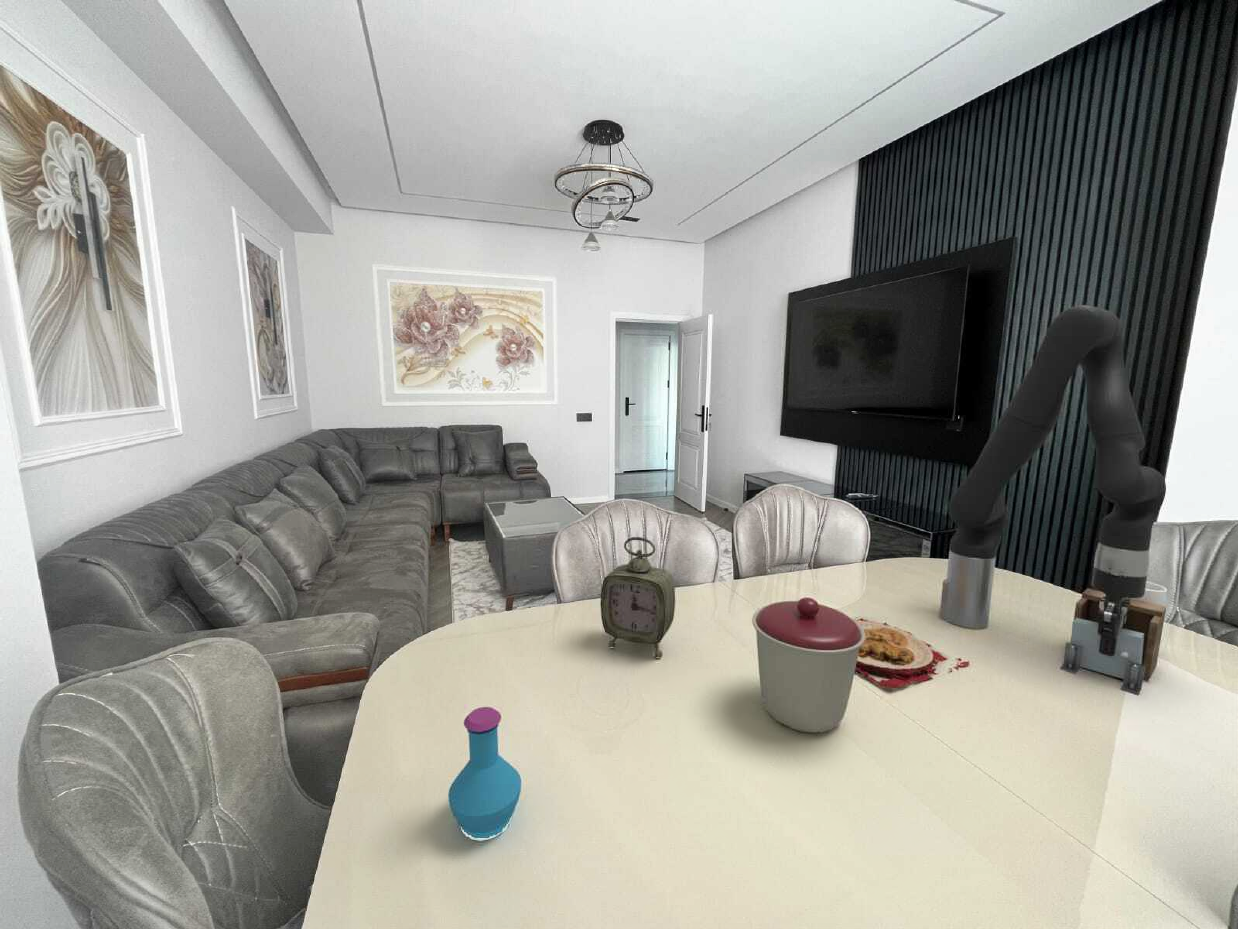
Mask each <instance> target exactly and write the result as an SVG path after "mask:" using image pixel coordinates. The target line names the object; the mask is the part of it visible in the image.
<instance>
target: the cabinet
mask: <svg viewBox="0 0 1238 929" xmlns="http://www.w3.org/2000/svg"><path fill="white" fill-rule="evenodd" d="M1103 596H1106V594H1104V593H1103V592H1101V591H1098V590H1096V589H1094V588H1086V589H1085V590H1084V591H1083V592H1082V593H1081V597H1080V599H1078V601H1076V603H1075V610H1074V616H1073V621H1074V620H1075V619H1076V618H1080V619H1084V620H1088V621H1092V622H1097V623H1098V620H1099V614H1098V612H1099V611H1100V608H1099V604H1100V600H1101V599H1102V600H1103ZM1130 602H1131V607H1130V609H1129V611H1128V617H1127V621H1126V624H1125V626H1124V627H1123V629H1127V630H1131V631H1135V632H1140V633H1144V642H1143V653H1142V665H1145V671H1144V677H1143V682H1147V681H1148V682H1150V680H1149V679H1151V677H1152V675H1153V674H1154V672H1155V670H1156V667H1157V665H1158V658H1159V652H1160V647H1161V646H1160V645H1161V641H1162V635H1163V628H1164V622H1165V617H1166V610H1167V606H1166V605H1165V606H1161V605H1157V604H1152V603H1148V602H1144V601H1140V600H1135V599H1131V598H1130ZM1071 637H1072V635H1071ZM1071 637H1070V638H1071Z"/></svg>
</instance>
